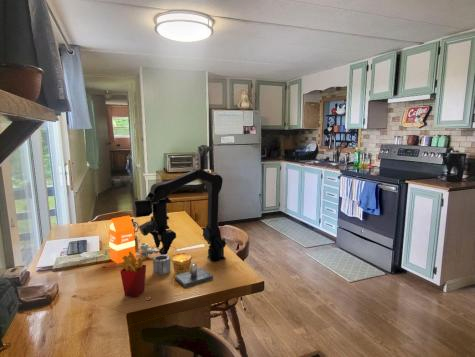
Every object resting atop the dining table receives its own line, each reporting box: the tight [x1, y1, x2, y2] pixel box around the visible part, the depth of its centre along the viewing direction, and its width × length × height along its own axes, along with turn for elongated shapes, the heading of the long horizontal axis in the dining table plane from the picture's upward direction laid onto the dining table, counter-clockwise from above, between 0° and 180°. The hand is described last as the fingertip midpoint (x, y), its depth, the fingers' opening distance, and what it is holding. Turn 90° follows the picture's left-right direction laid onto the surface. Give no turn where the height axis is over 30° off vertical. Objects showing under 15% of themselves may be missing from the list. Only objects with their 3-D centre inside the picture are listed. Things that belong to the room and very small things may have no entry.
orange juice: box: [108, 215, 137, 264], centre depth 140 cm, size 8×9×20 cm
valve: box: [139, 242, 167, 259], centre depth 142 cm, size 7×7×12 cm
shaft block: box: [174, 263, 214, 288], centre depth 120 cm, size 12×9×6 cm
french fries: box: [117, 252, 147, 299], centre depth 107 cm, size 9×8×15 cm
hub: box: [152, 254, 171, 276], centre depth 127 cm, size 7×7×6 cm
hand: (161, 250), depth 126 cm, fingers open, 9 cm apart
